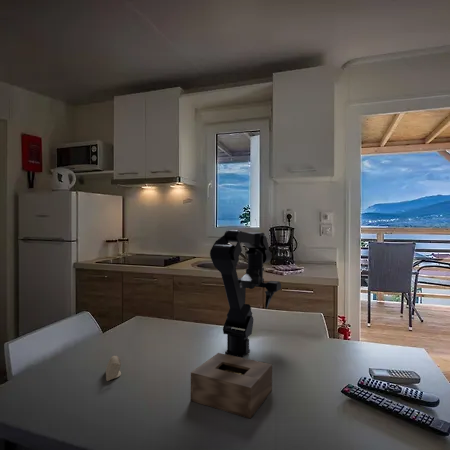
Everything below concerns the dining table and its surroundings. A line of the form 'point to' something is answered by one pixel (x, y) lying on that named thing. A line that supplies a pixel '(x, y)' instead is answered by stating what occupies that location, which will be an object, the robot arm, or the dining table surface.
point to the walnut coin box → (232, 384)
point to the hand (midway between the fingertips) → (254, 307)
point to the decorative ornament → (113, 368)
